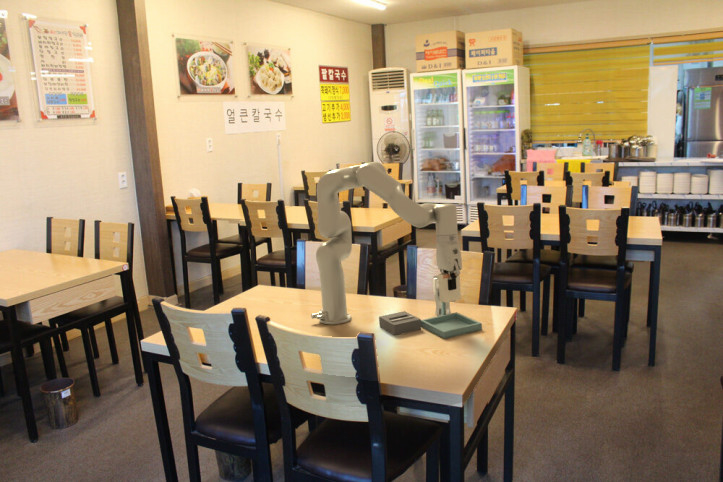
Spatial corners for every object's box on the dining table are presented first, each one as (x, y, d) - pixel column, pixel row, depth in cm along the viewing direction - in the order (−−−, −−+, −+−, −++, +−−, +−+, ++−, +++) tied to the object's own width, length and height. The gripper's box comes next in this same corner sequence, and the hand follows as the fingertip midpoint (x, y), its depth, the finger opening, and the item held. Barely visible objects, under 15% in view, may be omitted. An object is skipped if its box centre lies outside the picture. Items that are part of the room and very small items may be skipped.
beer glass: (451, 316, 235) (450, 279, 232) (433, 316, 236) (431, 279, 233) (452, 311, 241) (451, 274, 239) (434, 311, 243) (433, 274, 240)
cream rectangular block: (444, 302, 217) (442, 275, 215) (439, 300, 219) (438, 274, 218) (460, 299, 220) (459, 272, 218) (456, 297, 222) (454, 270, 221)
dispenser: (394, 335, 218) (394, 323, 217) (379, 326, 229) (378, 315, 228) (421, 329, 222) (420, 317, 221) (405, 321, 233) (404, 309, 232)
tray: (444, 338, 211) (443, 332, 211) (420, 326, 226) (420, 320, 225) (481, 329, 218) (481, 323, 217) (456, 318, 232) (456, 312, 232)
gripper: (469, 240, 210) (471, 291, 213) (443, 234, 224) (446, 282, 228) (450, 243, 207) (453, 295, 210) (426, 237, 221) (429, 286, 225)
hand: (449, 288), depth 219 cm, fingers closed on cream rectangular block, 2 cm apart
